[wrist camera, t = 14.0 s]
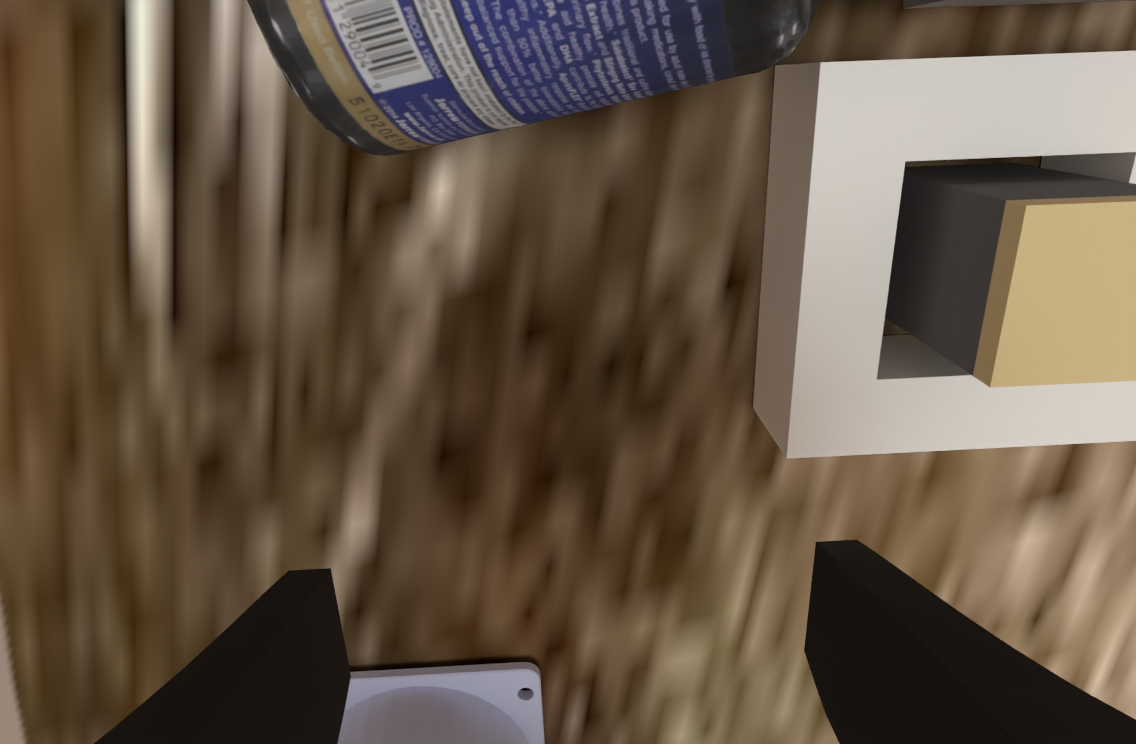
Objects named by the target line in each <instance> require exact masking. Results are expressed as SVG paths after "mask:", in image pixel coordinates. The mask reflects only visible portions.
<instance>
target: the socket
mask: <svg viewBox="0 0 1136 744" xmlns="http://www.w3.org/2000/svg"><path fill="white" fill-rule="evenodd" d="M1026 156H1042V161H1041V166H1040V168H1045V169H1051V170H1057V171H1063V172H1069V173H1074V174H1080V175H1086V176H1092V177H1098V178H1104V179H1110V180H1115V181H1121V182H1127V183H1133V184H1136V51H1112V52H1086V53H1059V54H1032V55H1005V56H979V57H952V58H925V59H898V60H872V61H845V62H819V63H804V64H789V65H775V76H774V91H773V107H772V122H771V137H770V153H769V168H768V184H767V199H766V215H765V230H764V245H763V261H762V276H761V292H760V307H759V322H758V338H757V353H756V369H755V384H754V400H753V409H754V410H755V412H756V413H757V415H758V416H759V418H760V419H761V421H762V422H763V424H764V425H765V427H766V428H767V430H768V431H769V433H770V434H771V436H772V437H773V439H774V440H775V442H776V443H777V445H778V446H779V448H780V449H781V451H782V452H783V454H784V455H785V457H786V458H787V459H788V458H808V457H827V456H847V455H866V454H886V453H905V452H924V451H944V450H963V449H983V448H1002V447H1022V446H1041V445H1061V444H1080V443H1099V442H1119V441H1136V381H1121V382H1099V383H1077V384H1055V385H1033V386H1012V387H989V386H987V385H986V384H984V383H983V382H981V381H980V380H978V379H977V378H975V377H974V376H972V375H971V374H969V373H968V372H966V371H965V370H963V369H962V368H960V367H959V366H957V365H956V364H954V363H953V362H951V361H950V360H948V359H947V358H945V357H944V356H942V355H941V354H939V353H938V352H936V351H935V350H933V349H932V348H930V347H929V346H927V345H926V344H924V343H923V342H921V341H920V340H919V339H917V338H916V337H914V336H913V335H890V336H882V335H883V328H884V320H885V312H886V305H887V297H888V290H889V282H890V275H891V267H892V259H893V252H894V244H895V237H896V229H897V221H898V214H899V206H900V199H901V191H902V183H903V176H904V168H905V161H928V160H953V159H977V158H1002V157H1026Z"/></svg>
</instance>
